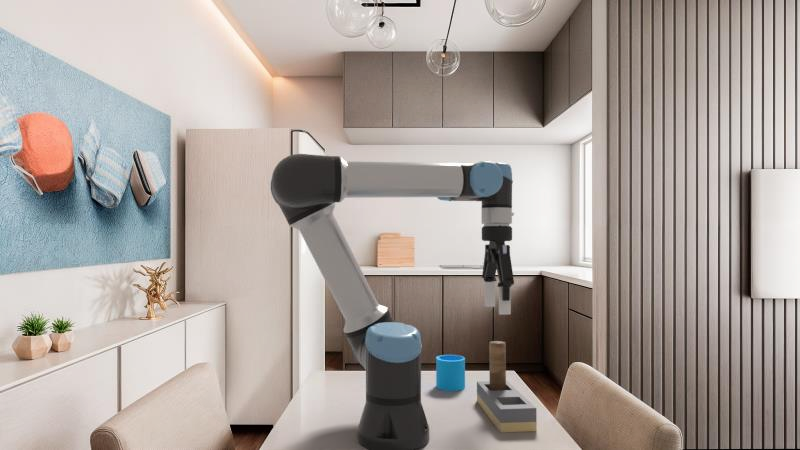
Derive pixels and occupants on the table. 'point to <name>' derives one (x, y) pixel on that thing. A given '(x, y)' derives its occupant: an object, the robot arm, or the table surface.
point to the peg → (497, 365)
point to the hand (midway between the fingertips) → (496, 310)
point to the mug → (450, 372)
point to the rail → (507, 408)
